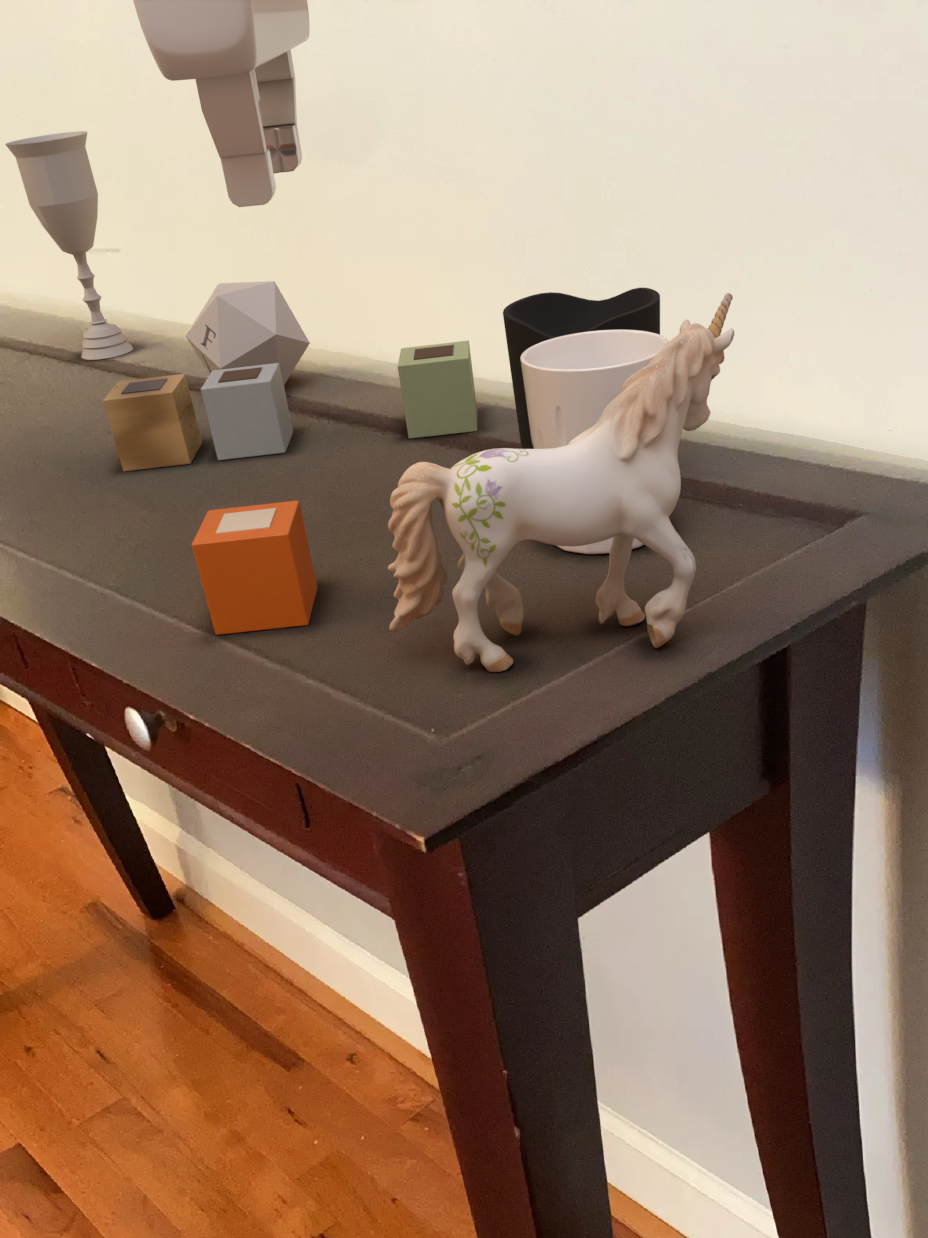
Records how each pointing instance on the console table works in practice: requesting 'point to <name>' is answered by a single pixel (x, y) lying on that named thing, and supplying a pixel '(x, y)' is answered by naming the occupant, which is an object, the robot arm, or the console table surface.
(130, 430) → the line block
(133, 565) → the console table surface
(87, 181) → the chalice
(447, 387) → the line block
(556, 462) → the unicorn figurine
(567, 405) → the white cup
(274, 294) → the die
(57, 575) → the console table surface
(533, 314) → the pen holder
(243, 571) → the orange block
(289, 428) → the line block
